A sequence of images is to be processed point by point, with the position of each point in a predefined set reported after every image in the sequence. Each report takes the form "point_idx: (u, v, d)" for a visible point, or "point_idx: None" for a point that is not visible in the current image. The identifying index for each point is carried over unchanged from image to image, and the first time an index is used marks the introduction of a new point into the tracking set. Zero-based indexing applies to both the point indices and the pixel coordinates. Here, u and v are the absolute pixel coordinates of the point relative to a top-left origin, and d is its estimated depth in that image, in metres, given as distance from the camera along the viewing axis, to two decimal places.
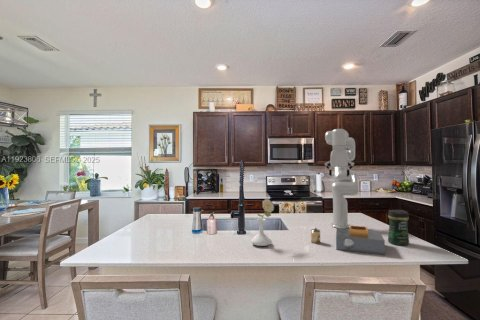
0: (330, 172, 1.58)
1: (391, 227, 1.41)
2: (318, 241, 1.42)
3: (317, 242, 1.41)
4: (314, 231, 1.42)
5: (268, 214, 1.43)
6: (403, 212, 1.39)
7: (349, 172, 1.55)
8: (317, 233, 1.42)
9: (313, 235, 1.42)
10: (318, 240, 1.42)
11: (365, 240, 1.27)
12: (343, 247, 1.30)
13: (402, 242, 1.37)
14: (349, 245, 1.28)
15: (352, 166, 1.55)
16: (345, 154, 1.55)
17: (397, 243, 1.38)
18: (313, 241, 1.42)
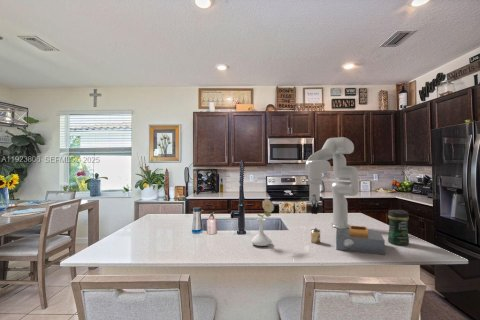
0: (317, 209, 1.39)
1: (391, 227, 1.41)
2: (318, 241, 1.42)
3: (317, 242, 1.41)
4: (314, 231, 1.42)
5: (268, 214, 1.43)
6: (403, 212, 1.39)
7: None
8: (317, 233, 1.42)
9: (313, 235, 1.42)
10: (318, 240, 1.42)
11: (365, 240, 1.27)
12: (343, 247, 1.30)
13: (402, 242, 1.37)
14: (349, 245, 1.28)
15: None
16: None
17: (397, 243, 1.38)
18: (313, 241, 1.42)
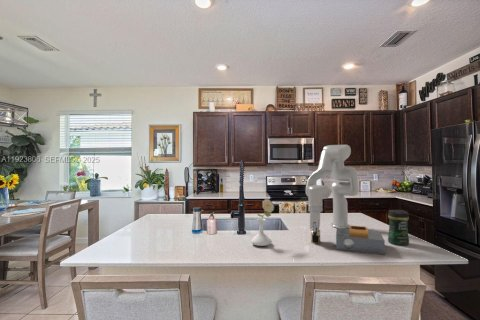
0: None
1: (391, 227, 1.41)
2: (318, 241, 1.42)
3: None
4: None
5: (268, 214, 1.43)
6: (403, 212, 1.39)
7: None
8: None
9: None
10: (318, 240, 1.42)
11: (365, 240, 1.27)
12: (343, 247, 1.30)
13: (402, 242, 1.37)
14: (349, 245, 1.28)
15: None
16: None
17: (397, 243, 1.38)
18: None
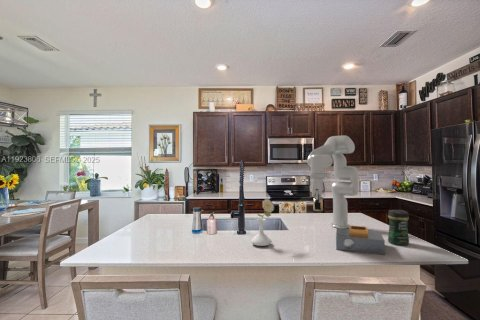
0: (320, 205, 1.40)
1: (391, 227, 1.41)
2: (321, 208, 1.41)
3: None
4: None
5: (268, 214, 1.43)
6: (403, 212, 1.39)
7: None
8: None
9: None
10: None
11: (365, 240, 1.27)
12: (343, 247, 1.30)
13: (402, 242, 1.37)
14: (349, 245, 1.28)
15: None
16: None
17: (397, 243, 1.38)
18: None
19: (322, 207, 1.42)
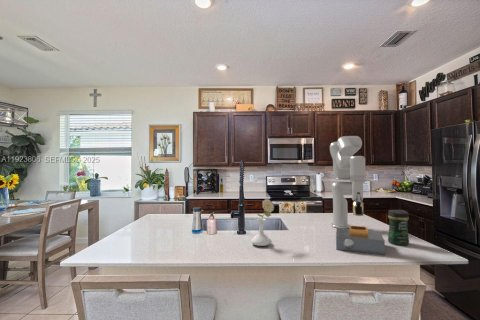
0: None
1: (391, 227, 1.41)
2: (362, 213, 1.34)
3: (360, 214, 1.34)
4: None
5: (268, 214, 1.43)
6: (403, 212, 1.39)
7: None
8: None
9: None
10: None
11: (365, 240, 1.27)
12: (343, 247, 1.30)
13: (402, 242, 1.37)
14: (349, 245, 1.28)
15: None
16: None
17: (397, 243, 1.38)
18: None
19: None
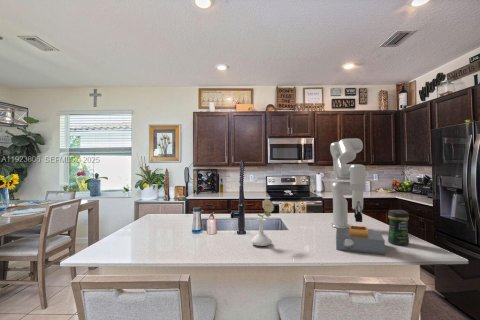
0: None
1: (391, 227, 1.41)
2: None
3: None
4: None
5: (268, 214, 1.43)
6: (403, 212, 1.39)
7: None
8: None
9: None
10: None
11: (365, 240, 1.27)
12: (343, 247, 1.30)
13: (402, 242, 1.37)
14: (349, 245, 1.28)
15: None
16: None
17: (397, 243, 1.38)
18: None
19: None
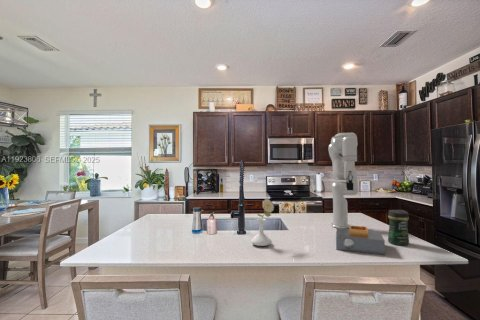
0: (353, 185, 1.39)
1: (391, 227, 1.41)
2: None
3: None
4: None
5: (268, 214, 1.43)
6: (403, 212, 1.39)
7: None
8: None
9: None
10: None
11: (365, 240, 1.27)
12: (343, 247, 1.30)
13: (402, 242, 1.37)
14: (349, 245, 1.28)
15: None
16: None
17: (397, 243, 1.38)
18: None
19: None
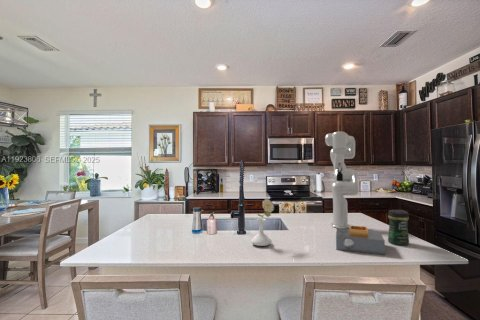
0: (342, 176, 1.49)
1: (391, 227, 1.41)
2: None
3: None
4: None
5: (268, 214, 1.43)
6: (403, 212, 1.39)
7: None
8: None
9: None
10: None
11: (365, 240, 1.27)
12: (343, 247, 1.30)
13: (402, 242, 1.37)
14: (349, 245, 1.28)
15: None
16: None
17: (397, 243, 1.38)
18: None
19: None
